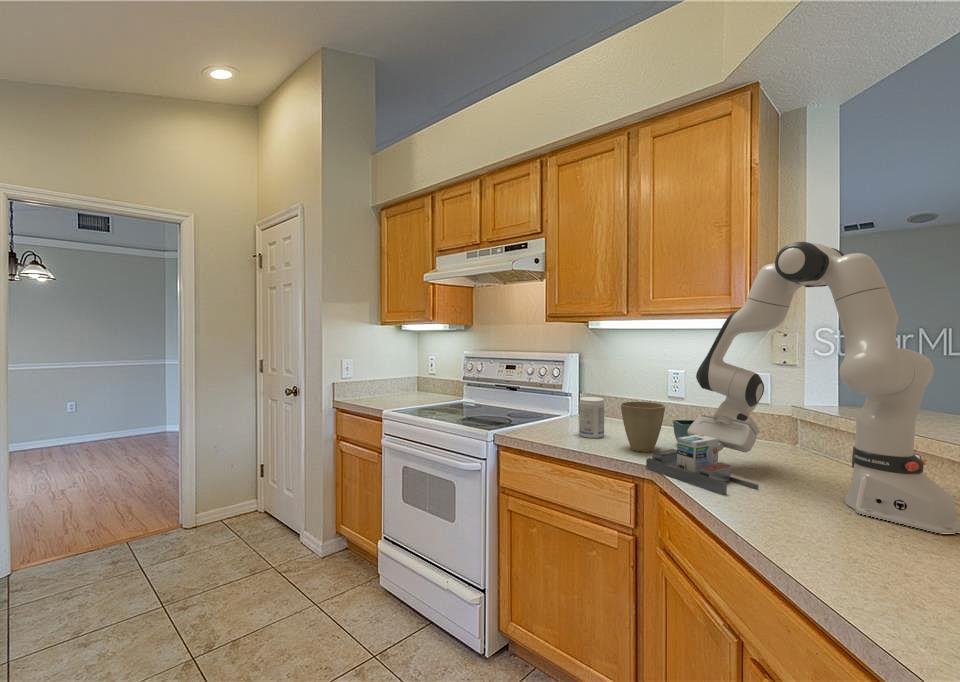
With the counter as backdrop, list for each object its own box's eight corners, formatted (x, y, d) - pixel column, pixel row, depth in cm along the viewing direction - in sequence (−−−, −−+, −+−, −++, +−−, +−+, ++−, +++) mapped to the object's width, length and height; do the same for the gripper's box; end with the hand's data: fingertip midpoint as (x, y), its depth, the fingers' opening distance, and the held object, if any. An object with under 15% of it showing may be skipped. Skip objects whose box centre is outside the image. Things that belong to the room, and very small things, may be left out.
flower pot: (671, 443, 184) (672, 419, 184) (695, 443, 184) (696, 419, 184) (680, 449, 175) (681, 424, 175) (705, 450, 175) (706, 424, 175)
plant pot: (662, 445, 181) (663, 402, 180) (666, 456, 166) (667, 409, 166) (619, 442, 185) (620, 400, 184) (619, 453, 170) (620, 406, 170)
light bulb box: (695, 479, 142) (696, 442, 142) (675, 473, 148) (676, 437, 148) (718, 474, 148) (719, 438, 147) (698, 468, 153) (699, 433, 153)
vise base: (758, 489, 135) (758, 471, 135) (728, 496, 129) (728, 478, 129) (674, 462, 159) (675, 448, 159) (646, 468, 153) (646, 453, 153)
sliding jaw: (729, 480, 141) (730, 465, 141) (708, 485, 136) (709, 469, 136) (720, 477, 143) (720, 462, 143) (699, 482, 139) (699, 466, 139)
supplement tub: (597, 432, 201) (598, 396, 201) (608, 438, 192) (609, 400, 191) (575, 433, 199) (575, 397, 198) (585, 439, 190) (585, 400, 189)
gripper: (696, 407, 163) (674, 440, 159) (756, 418, 145) (733, 456, 141) (705, 419, 166) (684, 452, 162) (765, 432, 148) (743, 469, 144)
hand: (707, 454), depth 151 cm, fingers closed, pressing on light bulb box
